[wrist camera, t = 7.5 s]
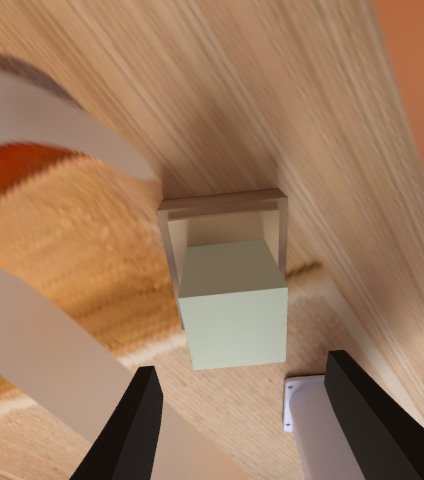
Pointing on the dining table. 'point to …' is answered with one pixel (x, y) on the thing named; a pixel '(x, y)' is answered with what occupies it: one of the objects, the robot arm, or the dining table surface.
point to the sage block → (233, 305)
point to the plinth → (222, 225)
